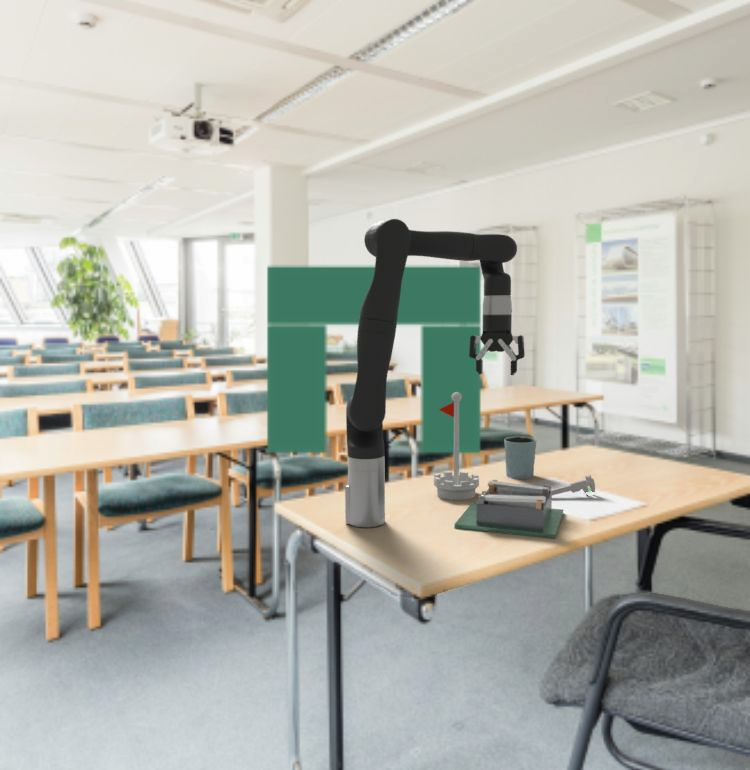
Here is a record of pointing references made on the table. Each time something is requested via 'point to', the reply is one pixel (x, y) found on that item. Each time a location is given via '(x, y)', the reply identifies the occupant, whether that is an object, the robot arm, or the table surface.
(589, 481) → the caliper
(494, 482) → the far strap
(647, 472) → the table surface
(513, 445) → the blue-grey cup
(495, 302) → the robot arm
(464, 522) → the base
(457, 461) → the flag stand
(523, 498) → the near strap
